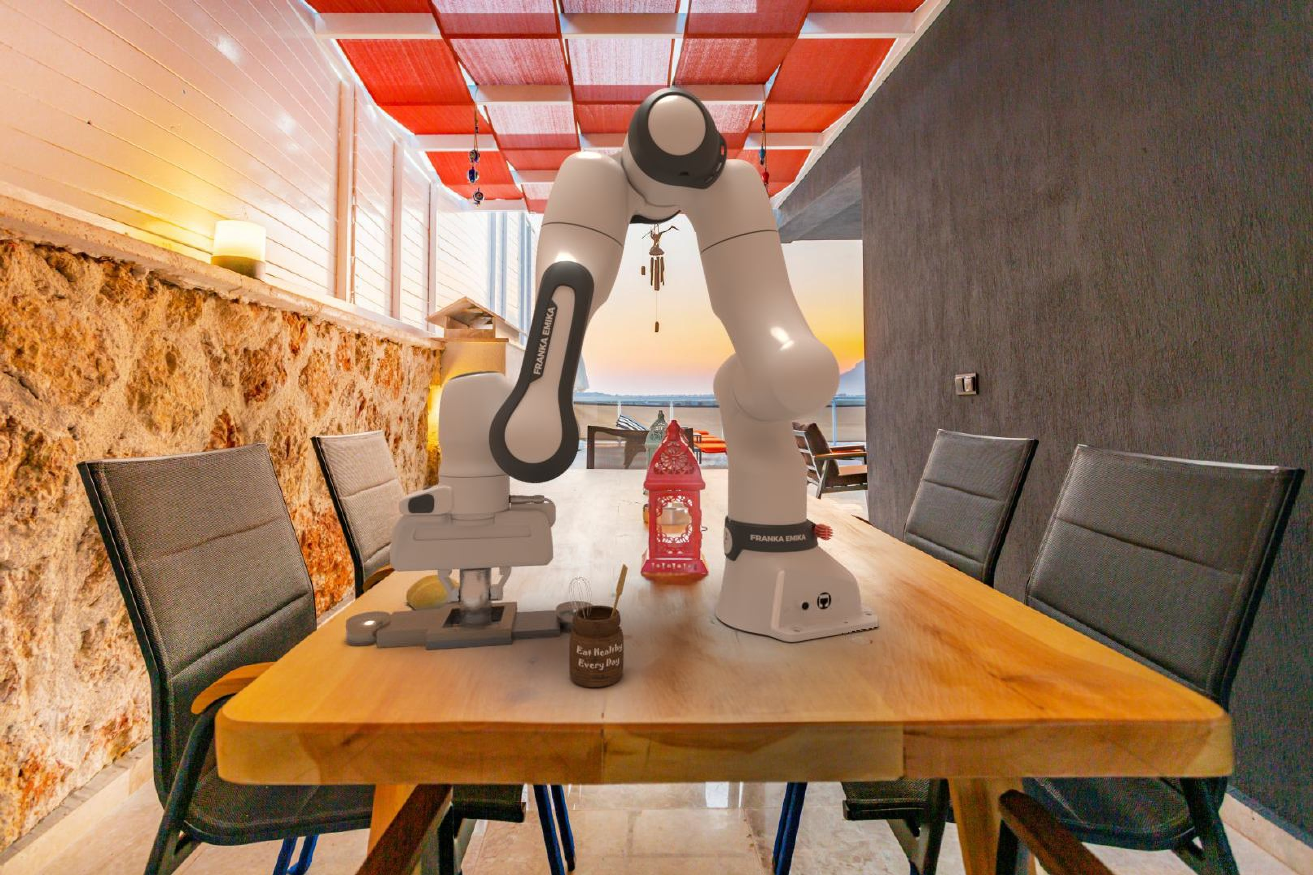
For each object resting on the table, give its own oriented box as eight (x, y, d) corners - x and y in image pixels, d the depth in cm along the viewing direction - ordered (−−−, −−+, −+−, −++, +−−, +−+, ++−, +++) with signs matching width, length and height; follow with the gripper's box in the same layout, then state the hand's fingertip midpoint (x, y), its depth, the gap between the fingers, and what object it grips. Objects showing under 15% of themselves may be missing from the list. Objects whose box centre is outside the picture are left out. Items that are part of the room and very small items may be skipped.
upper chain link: (517, 615, 77) (517, 598, 77) (511, 644, 67) (511, 624, 67) (361, 624, 74) (361, 605, 73) (331, 655, 64) (331, 635, 64)
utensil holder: (564, 667, 61) (565, 562, 61) (619, 660, 63) (619, 558, 63) (573, 693, 56) (573, 577, 55) (632, 684, 58) (633, 572, 57)
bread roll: (419, 618, 77) (419, 590, 76) (401, 601, 83) (400, 576, 83) (476, 605, 82) (476, 579, 82) (454, 590, 89) (454, 566, 89)
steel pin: (493, 621, 74) (493, 562, 73) (489, 632, 70) (489, 571, 70) (462, 622, 73) (462, 564, 73) (456, 634, 69) (456, 572, 69)
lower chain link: (590, 611, 79) (590, 594, 79) (595, 638, 69) (595, 619, 69) (443, 619, 75) (442, 601, 75) (426, 649, 66) (425, 629, 66)
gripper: (555, 491, 76) (555, 589, 76) (399, 494, 72) (400, 596, 73) (555, 497, 70) (555, 604, 70) (384, 501, 66) (386, 613, 66)
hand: (475, 600), depth 71 cm, fingers closed on steel pin, 4 cm apart
